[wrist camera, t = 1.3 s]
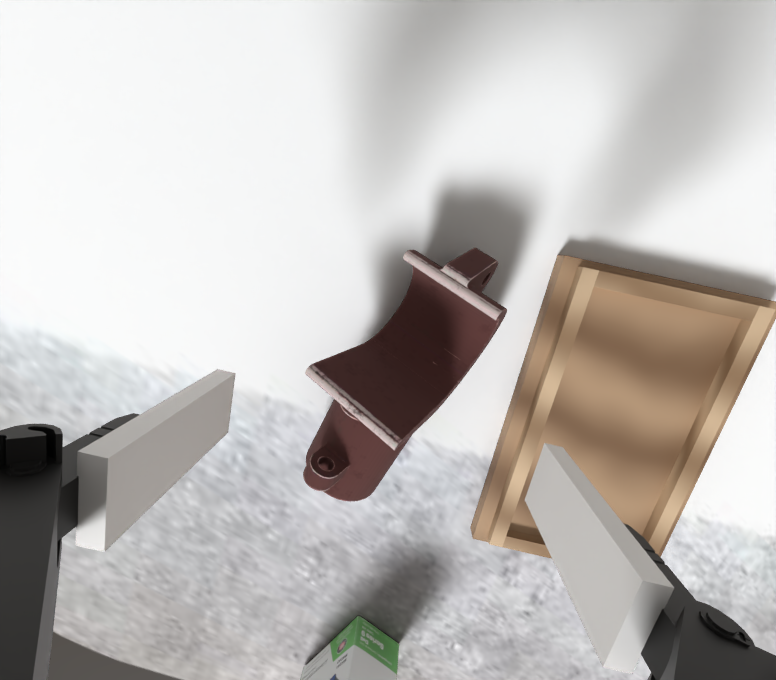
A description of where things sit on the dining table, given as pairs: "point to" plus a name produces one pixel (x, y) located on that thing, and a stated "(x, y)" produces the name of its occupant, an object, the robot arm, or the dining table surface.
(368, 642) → the ink box
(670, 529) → the side panel
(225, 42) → the dining table surface
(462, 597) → the dining table surface
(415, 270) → the bracket
